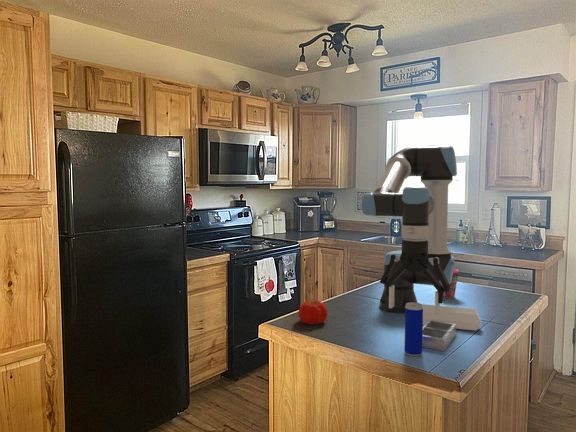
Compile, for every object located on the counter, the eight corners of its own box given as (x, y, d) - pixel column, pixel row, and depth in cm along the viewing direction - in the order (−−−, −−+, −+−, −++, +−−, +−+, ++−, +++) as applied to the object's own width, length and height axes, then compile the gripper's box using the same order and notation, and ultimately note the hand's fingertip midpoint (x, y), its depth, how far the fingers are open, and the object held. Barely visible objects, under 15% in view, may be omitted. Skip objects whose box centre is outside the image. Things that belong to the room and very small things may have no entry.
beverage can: (408, 348, 137) (409, 301, 136) (425, 352, 134) (425, 303, 133) (401, 353, 133) (402, 304, 132) (418, 358, 130) (418, 307, 129)
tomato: (319, 316, 170) (319, 297, 169) (332, 325, 160) (332, 304, 159) (293, 319, 166) (293, 300, 166) (305, 329, 156) (305, 308, 155)
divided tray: (414, 345, 140) (414, 334, 139) (428, 329, 154) (429, 319, 154) (444, 351, 135) (444, 339, 135) (456, 334, 149) (456, 324, 149)
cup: (456, 300, 190) (457, 272, 189) (436, 297, 195) (436, 270, 194) (460, 295, 198) (461, 269, 197) (441, 293, 203) (441, 267, 202)
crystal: (408, 316, 157) (482, 323, 149) (410, 301, 163) (481, 308, 154) (409, 330, 161) (481, 338, 153) (410, 315, 167) (480, 322, 158)
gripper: (370, 238, 134) (369, 307, 135) (456, 243, 121) (454, 320, 122) (378, 235, 140) (378, 301, 142) (462, 240, 127) (460, 313, 129)
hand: (413, 310), depth 132 cm, fingers open, 13 cm apart
